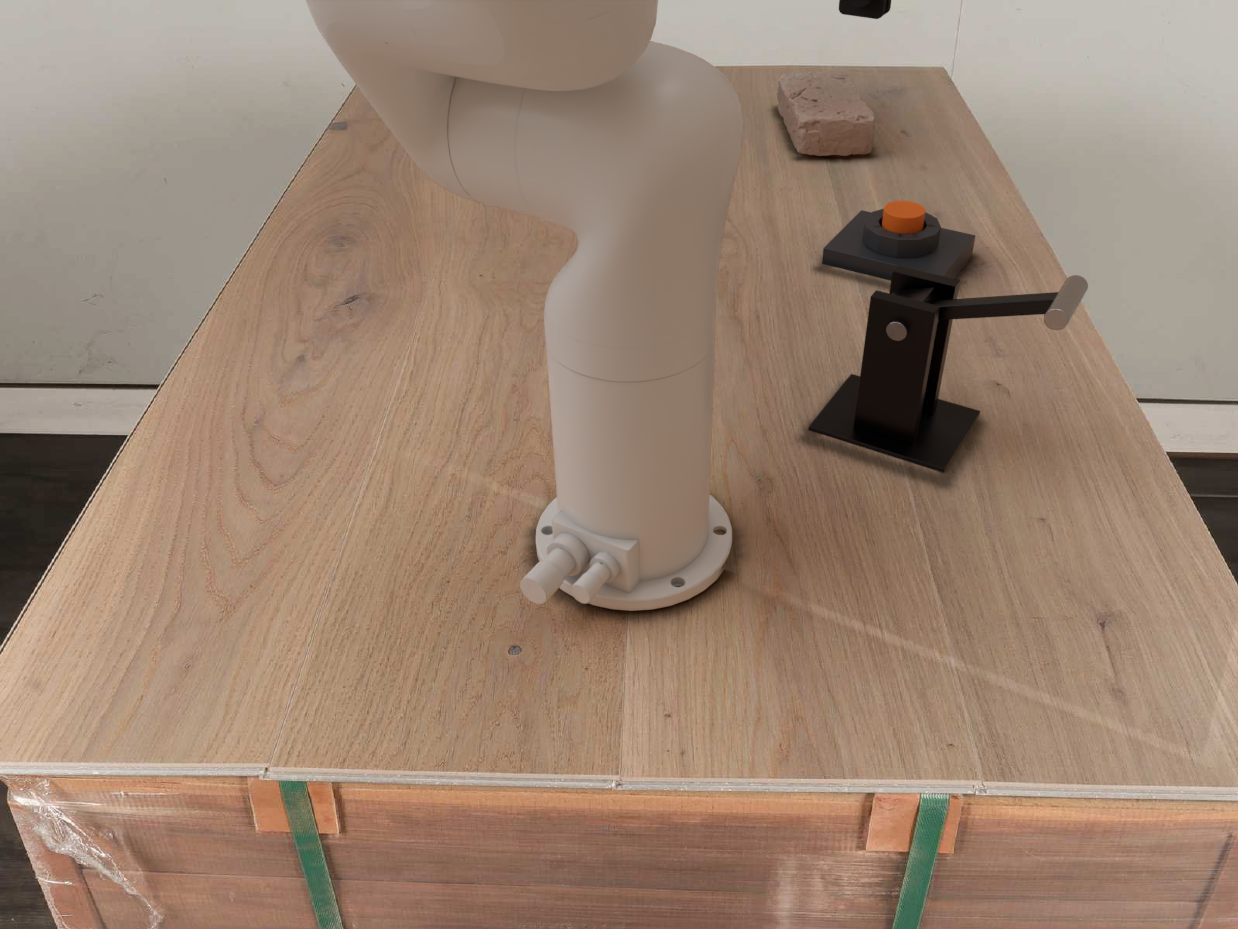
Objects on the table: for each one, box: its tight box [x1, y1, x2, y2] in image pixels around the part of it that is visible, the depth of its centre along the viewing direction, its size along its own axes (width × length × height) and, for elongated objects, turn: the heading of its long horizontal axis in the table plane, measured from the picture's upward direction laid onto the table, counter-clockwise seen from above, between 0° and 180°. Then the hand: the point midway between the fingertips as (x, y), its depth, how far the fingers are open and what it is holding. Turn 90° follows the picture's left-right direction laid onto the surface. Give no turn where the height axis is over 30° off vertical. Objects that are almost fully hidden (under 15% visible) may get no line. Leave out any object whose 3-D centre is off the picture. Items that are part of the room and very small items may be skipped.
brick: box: [776, 70, 876, 157], centre depth 126 cm, size 17×8×5 cm, turn 2°
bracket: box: [807, 266, 981, 473], centre depth 78 cm, size 10×8×12 cm
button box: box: [821, 208, 976, 282], centre depth 100 cm, size 11×9×4 cm
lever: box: [892, 274, 1089, 331], centre depth 72 cm, size 12×5×2 cm, turn 58°
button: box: [882, 200, 927, 234], centre depth 99 cm, size 4×4×2 cm
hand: (863, 12), depth 78 cm, fingers closed
